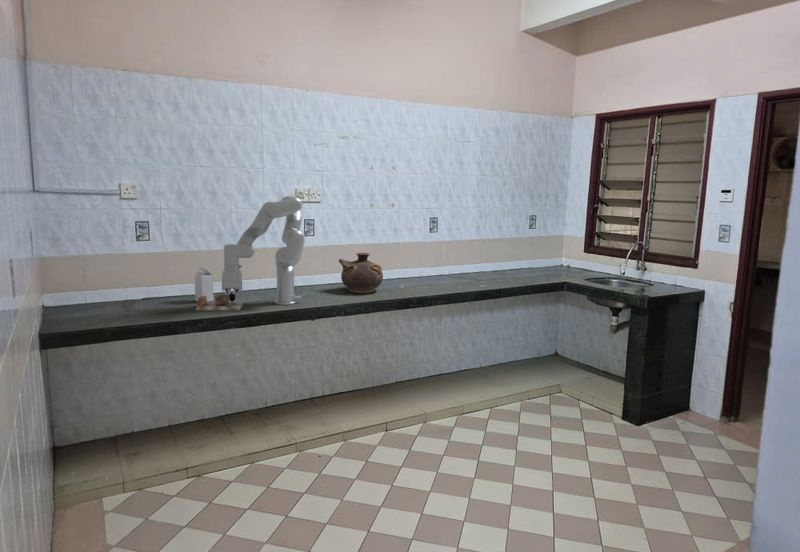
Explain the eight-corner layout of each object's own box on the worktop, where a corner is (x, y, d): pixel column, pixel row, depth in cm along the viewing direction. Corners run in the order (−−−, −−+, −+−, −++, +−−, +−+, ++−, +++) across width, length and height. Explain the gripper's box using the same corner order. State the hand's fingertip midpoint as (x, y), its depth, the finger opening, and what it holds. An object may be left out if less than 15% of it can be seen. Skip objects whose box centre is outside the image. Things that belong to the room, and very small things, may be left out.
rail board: (242, 305, 298) (242, 295, 297) (239, 310, 287) (239, 299, 286) (200, 305, 294) (200, 295, 293) (196, 310, 283) (196, 300, 282)
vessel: (331, 289, 349) (333, 251, 346) (365, 287, 368) (367, 251, 365) (357, 296, 329) (359, 255, 326) (391, 293, 348) (393, 255, 345)
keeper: (228, 303, 294) (228, 294, 293) (227, 305, 288) (226, 296, 287) (217, 303, 293) (217, 294, 292) (215, 305, 287) (215, 296, 286)
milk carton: (206, 299, 310) (205, 266, 307) (213, 301, 306) (212, 268, 303) (195, 301, 305) (194, 267, 302) (202, 303, 300) (201, 269, 297)
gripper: (246, 266, 293) (247, 299, 296) (218, 266, 290) (218, 299, 293) (245, 268, 286) (245, 302, 289) (215, 268, 283) (216, 302, 286)
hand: (232, 301), depth 291 cm, fingers closed
